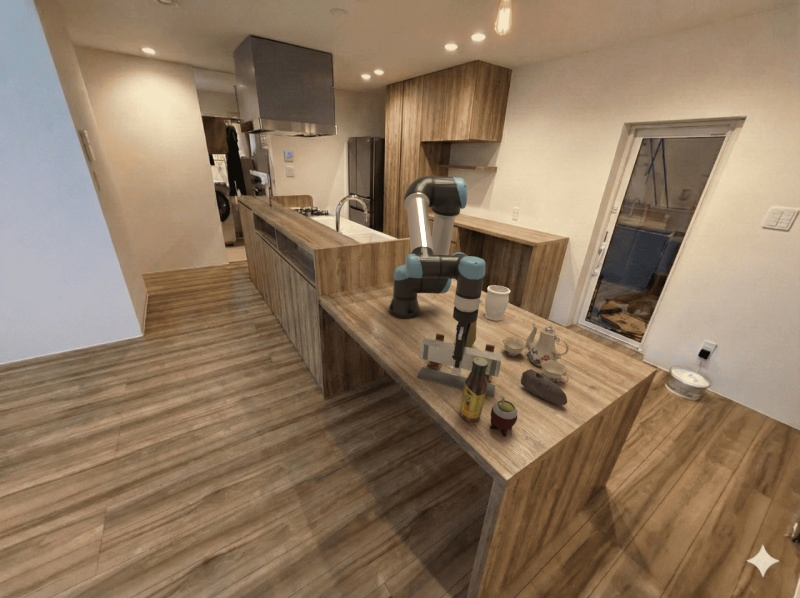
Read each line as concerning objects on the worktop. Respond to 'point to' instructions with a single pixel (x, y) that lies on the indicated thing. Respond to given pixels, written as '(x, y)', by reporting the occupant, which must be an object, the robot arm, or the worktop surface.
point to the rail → (444, 352)
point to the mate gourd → (503, 416)
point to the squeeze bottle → (471, 335)
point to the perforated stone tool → (543, 387)
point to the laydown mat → (449, 379)
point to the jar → (496, 302)
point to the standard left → (434, 364)
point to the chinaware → (541, 351)
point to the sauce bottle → (474, 390)
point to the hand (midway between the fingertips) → (457, 369)
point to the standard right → (491, 349)
